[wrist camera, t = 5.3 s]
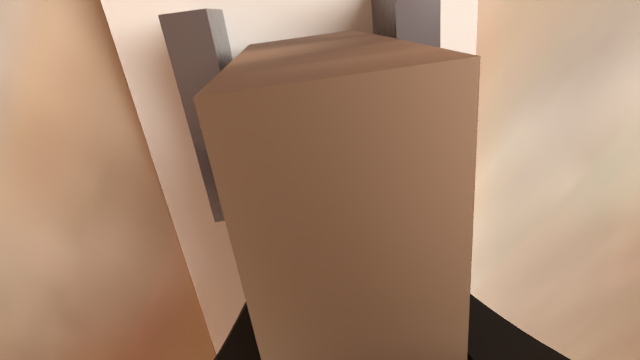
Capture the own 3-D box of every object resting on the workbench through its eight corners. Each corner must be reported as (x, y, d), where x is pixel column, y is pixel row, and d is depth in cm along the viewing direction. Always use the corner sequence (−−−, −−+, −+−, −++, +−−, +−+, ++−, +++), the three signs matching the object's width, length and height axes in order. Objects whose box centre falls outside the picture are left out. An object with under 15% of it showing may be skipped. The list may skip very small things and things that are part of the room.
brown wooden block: (384, 25, 10) (559, 44, 4) (401, 352, 15) (490, 604, 9) (249, 44, 10) (193, 97, 4) (310, 368, 15) (333, 635, 8)
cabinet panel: (461, -102, 11) (482, -116, 10) (451, 358, 18) (462, 381, 17) (100, -56, 10) (79, -64, 9) (240, 395, 18) (237, 420, 17)
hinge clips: (406, -16, 10) (440, -24, 8) (417, 356, 16) (439, 410, 14) (184, 14, 10) (158, 14, 8) (275, 380, 16) (274, 439, 14)
